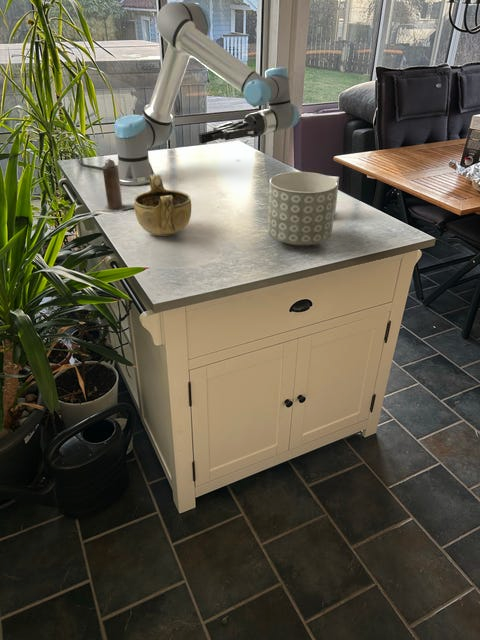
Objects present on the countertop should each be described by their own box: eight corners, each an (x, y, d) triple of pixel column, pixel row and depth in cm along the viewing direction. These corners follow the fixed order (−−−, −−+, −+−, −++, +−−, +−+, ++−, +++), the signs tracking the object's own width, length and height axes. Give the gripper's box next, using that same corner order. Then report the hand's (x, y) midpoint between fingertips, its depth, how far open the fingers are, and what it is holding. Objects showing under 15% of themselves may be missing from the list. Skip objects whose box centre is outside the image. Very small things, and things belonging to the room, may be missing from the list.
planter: (272, 226, 161) (275, 169, 151) (332, 231, 158) (338, 174, 148) (262, 251, 145) (264, 189, 136) (328, 257, 142) (335, 194, 133)
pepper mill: (105, 207, 175) (98, 159, 166) (117, 203, 177) (112, 156, 169) (112, 210, 171) (106, 162, 163) (125, 207, 174) (119, 159, 165)
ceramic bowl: (133, 221, 163) (128, 175, 155) (184, 216, 167) (182, 171, 159) (142, 249, 145) (137, 199, 137) (199, 243, 150) (198, 193, 141)
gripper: (271, 139, 168) (212, 155, 157) (248, 131, 177) (190, 146, 166) (271, 115, 164) (210, 130, 153) (247, 108, 172) (188, 122, 161)
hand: (200, 138), depth 159 cm, fingers closed
